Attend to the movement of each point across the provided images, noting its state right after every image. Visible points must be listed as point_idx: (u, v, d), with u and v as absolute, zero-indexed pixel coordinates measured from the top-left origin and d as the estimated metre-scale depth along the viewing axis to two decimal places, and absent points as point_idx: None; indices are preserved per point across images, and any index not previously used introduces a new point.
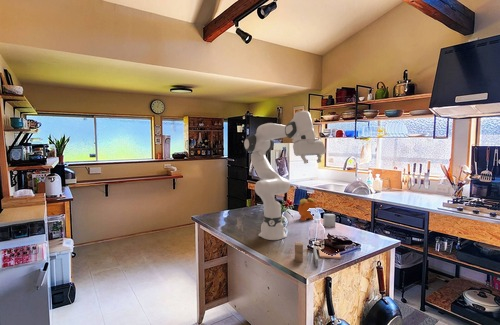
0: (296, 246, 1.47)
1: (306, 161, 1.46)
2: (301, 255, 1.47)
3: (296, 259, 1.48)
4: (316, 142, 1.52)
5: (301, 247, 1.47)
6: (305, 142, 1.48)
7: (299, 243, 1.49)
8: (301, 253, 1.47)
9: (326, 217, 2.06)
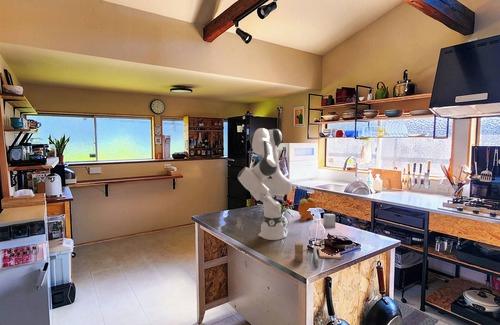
0: (296, 246, 1.47)
1: None
2: (301, 255, 1.47)
3: (296, 259, 1.48)
4: None
5: (301, 247, 1.47)
6: None
7: (299, 243, 1.49)
8: (301, 253, 1.47)
9: (326, 217, 2.06)
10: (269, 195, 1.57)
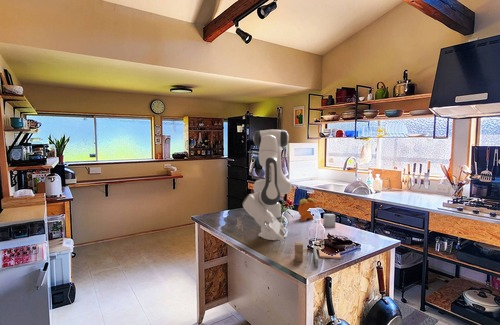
0: (296, 246, 1.47)
1: (282, 235, 1.55)
2: (301, 255, 1.47)
3: (296, 259, 1.48)
4: None
5: (301, 247, 1.47)
6: None
7: (299, 243, 1.49)
8: (301, 253, 1.47)
9: (326, 217, 2.06)
10: (275, 219, 1.58)
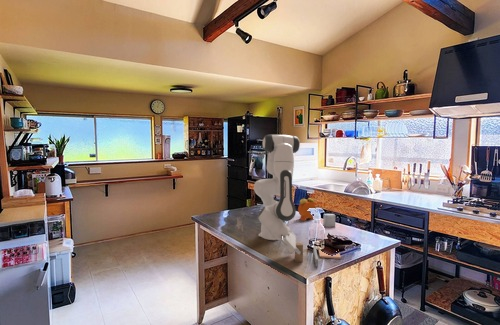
0: (296, 246, 1.47)
1: None
2: (301, 255, 1.47)
3: (296, 259, 1.48)
4: None
5: (301, 247, 1.47)
6: None
7: (299, 243, 1.49)
8: (301, 253, 1.47)
9: (326, 217, 2.06)
10: (291, 231, 1.57)
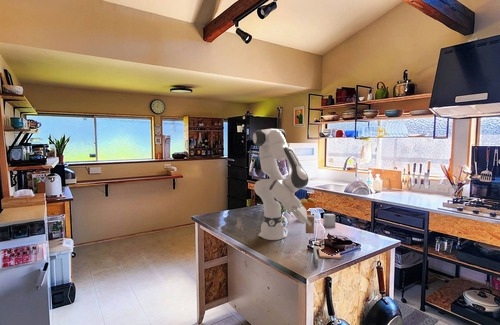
0: (307, 218, 1.49)
1: None
2: (312, 227, 1.49)
3: (307, 231, 1.49)
4: None
5: (312, 219, 1.48)
6: None
7: (310, 215, 1.51)
8: (312, 225, 1.48)
9: (326, 217, 2.06)
10: (301, 205, 1.59)
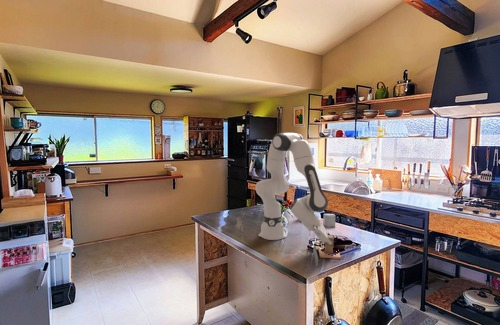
0: None
1: None
2: (332, 247, 1.55)
3: (327, 251, 1.56)
4: None
5: (332, 239, 1.55)
6: None
7: (329, 236, 1.57)
8: (332, 245, 1.55)
9: (326, 217, 2.06)
10: (320, 223, 1.65)
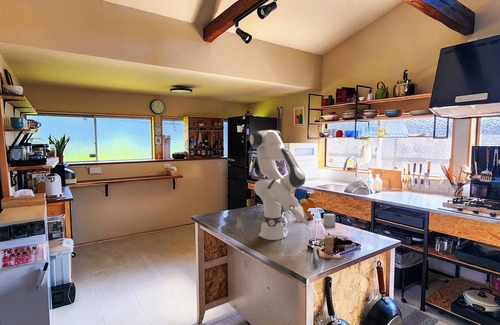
0: (327, 239, 1.55)
1: (305, 218, 1.61)
2: (332, 247, 1.55)
3: (327, 251, 1.56)
4: None
5: (332, 239, 1.55)
6: None
7: (329, 236, 1.57)
8: (332, 245, 1.55)
9: (326, 217, 2.06)
10: (298, 204, 1.64)
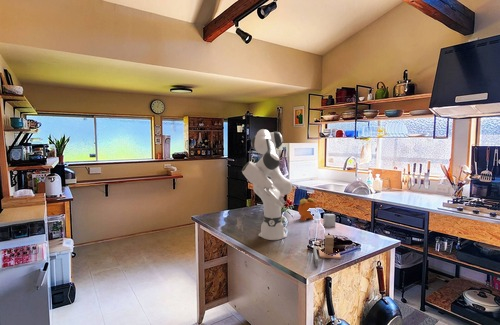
0: (327, 239, 1.55)
1: (281, 202, 1.56)
2: (332, 247, 1.55)
3: (327, 251, 1.56)
4: None
5: (332, 239, 1.55)
6: None
7: (329, 236, 1.57)
8: (332, 245, 1.55)
9: (326, 217, 2.06)
10: (275, 188, 1.59)
